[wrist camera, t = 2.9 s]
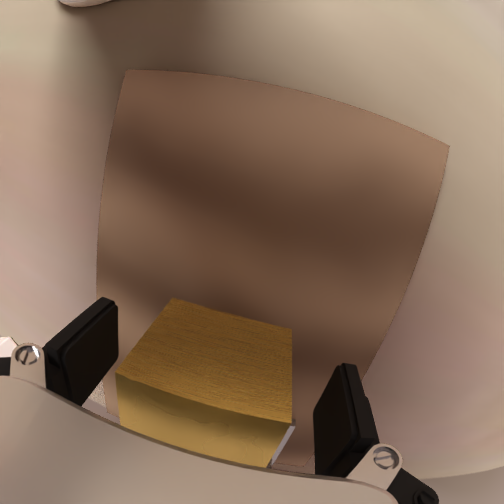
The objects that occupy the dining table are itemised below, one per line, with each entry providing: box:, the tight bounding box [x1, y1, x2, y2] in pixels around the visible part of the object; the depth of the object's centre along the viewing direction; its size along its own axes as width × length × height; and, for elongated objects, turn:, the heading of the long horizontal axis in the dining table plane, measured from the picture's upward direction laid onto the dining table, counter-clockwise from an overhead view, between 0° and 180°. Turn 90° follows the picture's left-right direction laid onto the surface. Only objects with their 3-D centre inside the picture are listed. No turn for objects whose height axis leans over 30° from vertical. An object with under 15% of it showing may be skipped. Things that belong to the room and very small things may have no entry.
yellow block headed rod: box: [115, 298, 292, 468], centre depth 11 cm, size 14×5×5 cm, turn 167°
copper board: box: [97, 70, 450, 466], centre depth 14 cm, size 22×15×1 cm
